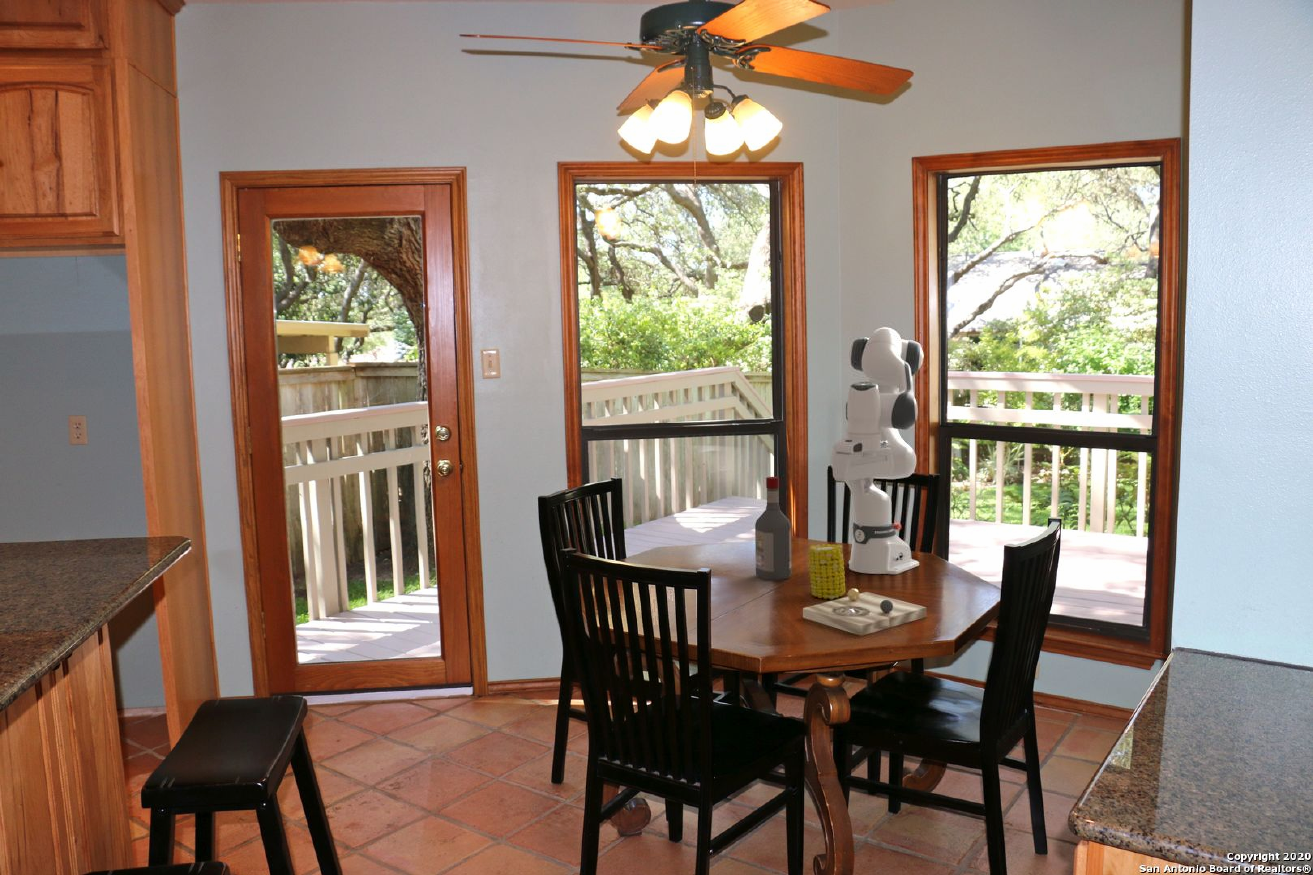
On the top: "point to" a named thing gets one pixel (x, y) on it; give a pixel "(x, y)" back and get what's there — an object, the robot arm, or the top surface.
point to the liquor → (773, 538)
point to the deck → (863, 613)
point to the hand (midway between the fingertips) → (863, 494)
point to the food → (827, 571)
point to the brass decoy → (853, 594)
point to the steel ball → (850, 611)
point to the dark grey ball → (886, 606)
